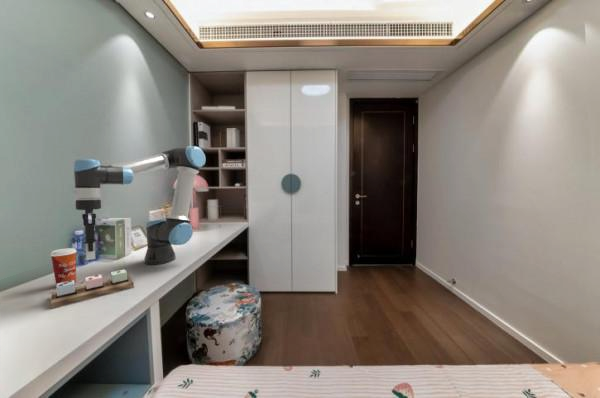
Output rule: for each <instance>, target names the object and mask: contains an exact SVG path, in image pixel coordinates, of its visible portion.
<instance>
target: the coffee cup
mask: <svg viewBox="0 0 600 398" xmlns="http://www.w3.org/2000/svg"><path fill="white" fill-rule="evenodd" d="M77 252H78V250H77V249H76V248H75V247H67V248H65V247H64V248H61V249H55V250H53V251H51V253H50V255H49V256H50V257H51V263H52V268H53V274H54V280H55V281H54V282H55V285H56V286H55V287H57V283H62V282H67V281H70V280H74V282H75V284H76V282H77Z"/></svg>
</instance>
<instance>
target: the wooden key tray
mask: <svg viewBox="0 0 600 398" xmlns="http://www.w3.org/2000/svg"><path fill="white" fill-rule="evenodd" d="M102 282H103V285H102V286H98V287H94V288H90V289H87V288H86V284H83V285H78V286H75V292H73V293H68V294H64V295H60V296H57V290H55V291H52V292H51V298H50V309H56V308H60V307H65V306H68V305H71V304H76V303H80V302H83V301H87V300H91V299H95V298H100V297H103V296H107V295H110V294H114V293H118V292H123V291H127V290H129V289H134V288H135V284H134V282H133V279H132V278H131V277H130V276H129V275H128V274H127V280H124V281H119V282H115V283H113V282H112V280H111V278H110V279H105V280H102Z"/></svg>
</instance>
